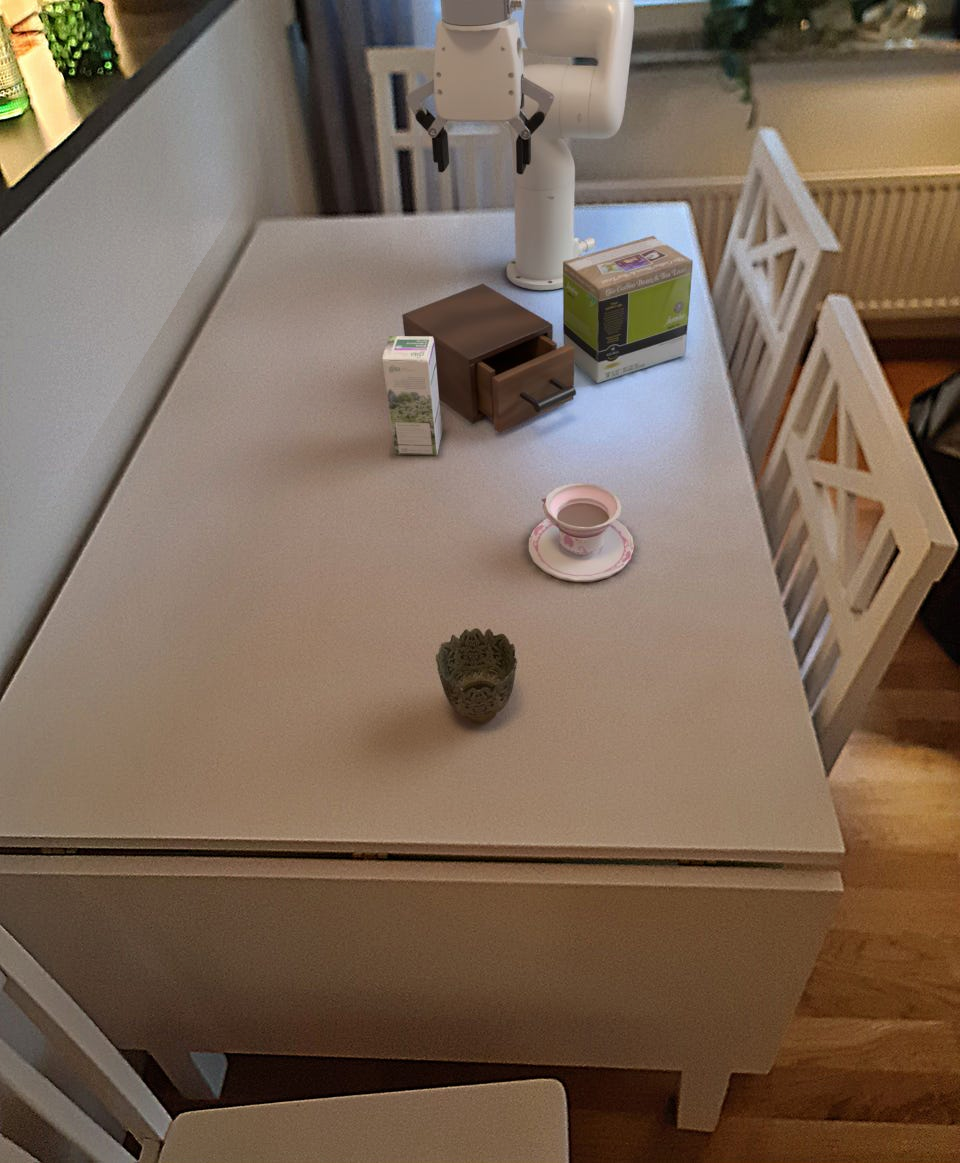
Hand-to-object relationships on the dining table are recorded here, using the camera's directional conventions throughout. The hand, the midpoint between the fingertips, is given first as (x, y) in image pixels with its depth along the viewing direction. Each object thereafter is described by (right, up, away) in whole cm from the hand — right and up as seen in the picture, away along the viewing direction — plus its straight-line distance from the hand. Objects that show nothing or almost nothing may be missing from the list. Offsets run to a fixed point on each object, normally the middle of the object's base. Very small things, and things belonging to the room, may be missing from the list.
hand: (482, 169), depth 115 cm
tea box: (+21, -17, +23) cm, 35 cm away
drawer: (+4, -25, +14) cm, 29 cm away
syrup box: (-8, -32, +10) cm, 35 cm away
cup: (0, -63, -23) cm, 67 cm away
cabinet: (0, -22, +20) cm, 29 cm away
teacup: (+11, -46, -7) cm, 48 cm away
